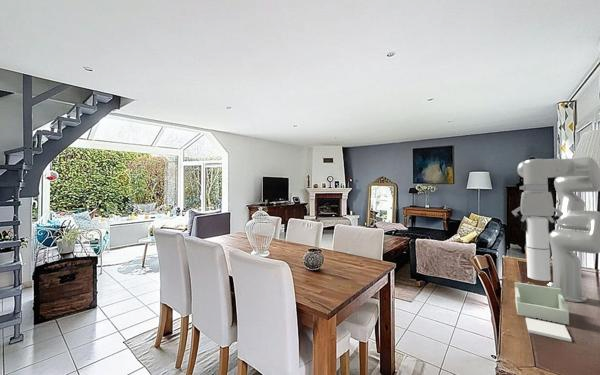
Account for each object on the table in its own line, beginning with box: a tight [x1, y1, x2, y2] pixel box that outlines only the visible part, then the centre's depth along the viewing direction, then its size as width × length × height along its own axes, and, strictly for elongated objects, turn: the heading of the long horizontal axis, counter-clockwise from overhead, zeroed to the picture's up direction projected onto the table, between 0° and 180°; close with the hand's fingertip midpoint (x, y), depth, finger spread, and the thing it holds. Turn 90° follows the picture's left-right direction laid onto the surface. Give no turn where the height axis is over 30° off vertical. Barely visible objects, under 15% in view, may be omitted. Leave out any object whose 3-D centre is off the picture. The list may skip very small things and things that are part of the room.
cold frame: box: [514, 281, 570, 326], centre depth 111 cm, size 15×15×9 cm
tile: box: [525, 317, 573, 343], centre depth 97 cm, size 11×11×1 cm
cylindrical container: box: [525, 216, 552, 282], centre depth 110 cm, size 7×7×25 cm
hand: (537, 231), depth 111 cm, fingers closed on cylindrical container, 7 cm apart
